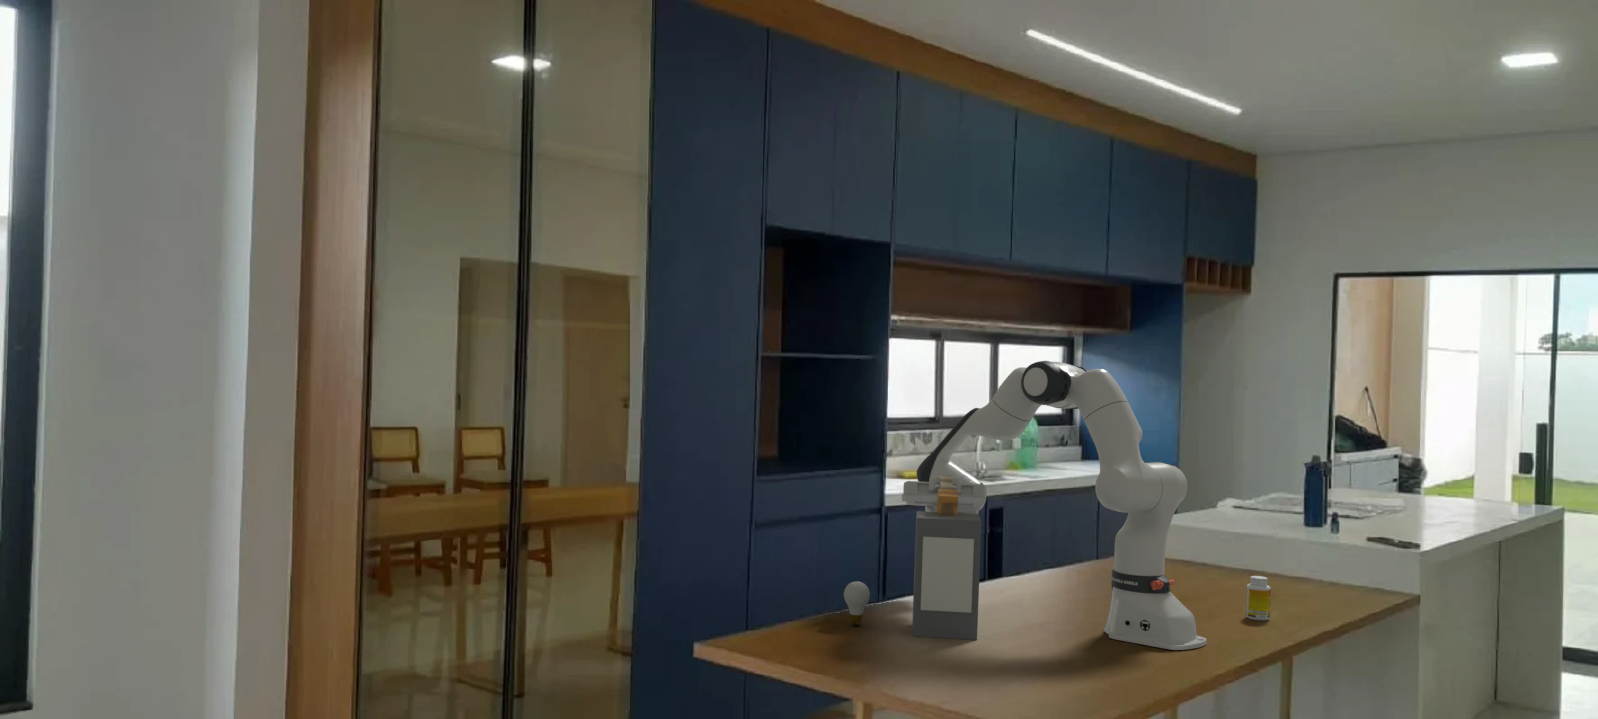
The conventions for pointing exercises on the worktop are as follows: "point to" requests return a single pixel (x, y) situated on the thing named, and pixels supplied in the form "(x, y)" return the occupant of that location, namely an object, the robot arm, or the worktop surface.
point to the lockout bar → (947, 497)
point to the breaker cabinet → (946, 575)
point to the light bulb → (856, 600)
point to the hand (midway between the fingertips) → (946, 480)
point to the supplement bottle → (1258, 599)
